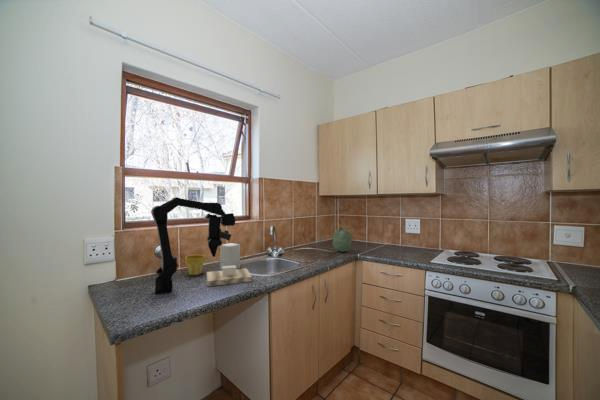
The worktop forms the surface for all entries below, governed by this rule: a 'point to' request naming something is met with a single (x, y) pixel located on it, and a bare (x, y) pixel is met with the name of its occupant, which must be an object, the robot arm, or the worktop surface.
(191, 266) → the plant pot
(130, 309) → the worktop surface
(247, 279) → the socket board
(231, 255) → the supplement box
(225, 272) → the plug
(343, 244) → the cabbage
